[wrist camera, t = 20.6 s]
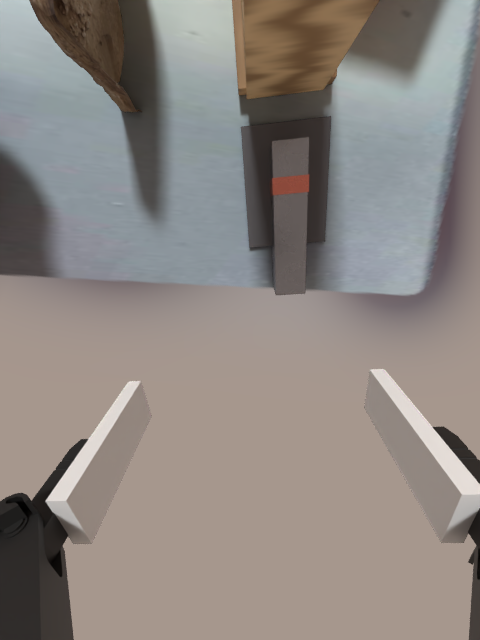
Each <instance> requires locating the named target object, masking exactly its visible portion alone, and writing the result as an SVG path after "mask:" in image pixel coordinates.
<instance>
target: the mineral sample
mask: <svg viewBox="0 0 480 640" xmlns="http://www.w3.org/2000/svg"><path fill="white" fill-rule="evenodd" d="M30 3H31V5H32V8H33V10H34V12H35V14H36V16H37V18H38V20H39V22H40V23H41V24H42V26H43V27H44V28H45V29H46V30H47V31H48V32H49V33H50V34H51V36H52V38H53V39H54V41H55V42H56V43H57V44H58V46H59V47H60V48H61V49H62V51H63V52H64V53H65V54H66V55H67V56H69V57H70V58H72V59H73V61H75V62H76V63H77V64H78V65H79V66H80V67H82V68H84V69H85V70H86V71H87V72H88V73H89V74H90V75H91V76H92V77H93V80H94V81H95V82H96V83H97V84H98V85H100V86H102V87H103V88H104V90H105V92H106V93H108V94H109V96H110V97H111V99H112V100H113V101H114V102H115V103H116V104H117V105H118V107H119V108H120V110H121V111H124V112H126V111H128V112H138V111H141V110H139V109H137V110H136V109H135V108H134V106H133V104H132V102H131V100H130V97H129V96H128V94H127V93H126V92H125V90H124V89H123V87H121V86H120V85H119V84H118V83H119V82H120V80H121V71H122V64H123V56H124V36H123V34H124V33H123V26H122V16H121V12H120V8H119V3H118V0H30ZM141 112H142V111H141Z"/></svg>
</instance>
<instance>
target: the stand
mask: <svg viewBox="0 0 480 640" xmlns="http://www.w3.org/2000/svg"><path fill="white" fill-rule="evenodd" d="M379 1H380V0H232V6H233V20H234V35H235V49H236V63H237V78H238V91H239V95H247V99H254V98H262V97H270V96H278V95H286V94H294V93H302V92H310V91H318V90H324V88H325V87H326V85H327V84H332V82H333V81H334V79H335V78H336V76H337V68H338V66H339V64H340V63H341V61H342V60H343V58H344V56H345V55H346V53H347V52H348V50H349V48H350V47H351V45H352V44H353V42H354V40H355V39H356V37H357V36H358V34H359V32H360V31H361V29H362V28H363V26H364V24H365V23H366V21H367V20H368V18H369V16H370V15H371V13H372V12H373V10H374V9H375V7H376V5H377V4H378V2H379Z"/></svg>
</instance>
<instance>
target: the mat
mask: <svg viewBox="0 0 480 640" xmlns="http://www.w3.org/2000/svg"><path fill="white" fill-rule="evenodd" d="M330 129H331V116H329V117H320V118H312V119H303V120H295V121H286V122H278V123H269V124H261V125H252V126H244V127H241V133H242V147H243V162H244V176H245V191H246V205H247V219H248V234H249V248H251V247H263V246H272V218H271V197H270V146H271V143H272V141H278V140H287V139H296V138H305V137H309V162H308V174H309V192H308V202H307V243H311V242H322V241H325V230H326V210H327V190H328V169H329V149H330Z"/></svg>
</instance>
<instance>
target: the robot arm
mask: <svg viewBox="0 0 480 640" xmlns="http://www.w3.org/2000/svg"><path fill="white" fill-rule="evenodd" d="M364 408H365V410H366V412H367V414H368V415H369V417H370V419H371V420H372V422H373V424H374V426H375V428H376V429H377V431H378V433H379V435H380V436H381V438H382V440H383V442H384V443H385V445H386V447H387V449H388V450H389V452H390V454H391V455H392V457H393V459H394V461H395V463H396V465H397V466H398V468H399V470H400V472H401V473H402V475H403V477H404V479H405V480H406V482H407V484H408V486H409V487H410V489H411V491H412V493H413V494H414V496H415V498H416V500H417V501H418V503H419V505H420V507H421V508H422V510H423V512H424V514H425V515H426V517H427V519H428V521H429V523H430V524H431V526H432V528H433V530H434V531H435V533H436V535H437V536H438V538H439V540H440V542H441V543H464V541H465V539H466V537H467V535H468V533H469V534H470V536H471V538H472V539H473V540H474V542H475V543H476V545H477V546H476V548H475V549H474V551H473V553H472V555H471V557H470V559H469V563H471V564H473V563H474V569H473V583H472V599H471V615H470V630H469V640H480V460H477V458H476V456H475V455H474V454H473V453H472V452H471V451H470V450H468V448H467V446H466V445H465V444H464V443H463V442H462V441H461V440H460V439H459V437H458V436H456V435H455V434H454V433H452V432H451V431H449V430H448V429H446V428H445V427H432V426H431V425H430V424H429V422H428V421H427V420H426V419H425V418H424V417H423V415H422V414H421V413H420V412H419V410H418V409H417V408H416V407H415V406H414V404H412V402H411V401H410V400H409V398H408V397H407V396H406V395H405V394H404V392H403V391H402V390H401V389H400V388H399V386H398V385H397V384H396V383H395V381H394V380H393V379H392V378H391V377H390V375H389V374H388V373H387V372H386V371H385V369H374V370H370V372H369V380H368V386H367V392H366V399H365V406H364ZM151 417H152V415H151V412H150V409H149V405H148V402H147V399H146V396H145V392H144V389H143V386H142V382H141V381H130V382H128V383H127V385H126V386H125V387H124V389H123V390H122V392H121V393H120V395H119V396H118V397H117V399H116V400H115V402H114V403H113V405H112V406H111V408H110V409H109V410H108V412H107V413H106V415H105V416H104V418H103V419H102V421H101V422H100V423H99V425H98V426H97V428H96V429H95V431H94V432H93V433H92V435H91V436H90V438H89V439H81V440H80V441H79V442H78V443H77V444H75V445H74V446H73V447H72V448H71V449H70V450H69V451H68V453H67V454H66V455H65V457H64V458H63V460H62V462H60V463H59V465H58V466H57V467H56V470H55V471H53V473H52V474H51V475H50V477H49V478H48V480H47V481H46V482H45V484H44V485H43V486H42V488H41V489H40V490H39V492H38V493H37V494H36V496H35V497H34V498H33V500H32V501H31V500H30V499H29V497H28V496H27V495H26V494H23V493H17V494H14V495H11V496H9V497H6V498H5V499H3V500H2V501H0V640H74V639H73V629H72V619H71V611H70V610H71V609H70V600H69V590H68V581H67V570H66V561H65V551H64V549H63V543H64V542H65V540H66V538H67V537H69V538H70V539H71V541H72V543H73V544H92V542H93V540H94V538H95V536H96V534H97V532H98V529H99V527H100V525H101V523H102V521H103V519H104V517H105V515H106V512H107V510H108V508H109V506H110V504H111V502H112V500H113V498H114V495H115V493H116V491H117V489H118V487H119V485H120V483H121V481H122V478H123V476H124V474H125V472H126V470H127V468H128V466H129V464H130V461H131V459H132V457H133V455H134V453H135V451H136V448H137V446H138V444H139V442H140V440H141V438H142V436H143V434H144V431H145V429H146V427H147V425H148V423H149V421H150V419H151Z"/></svg>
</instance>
